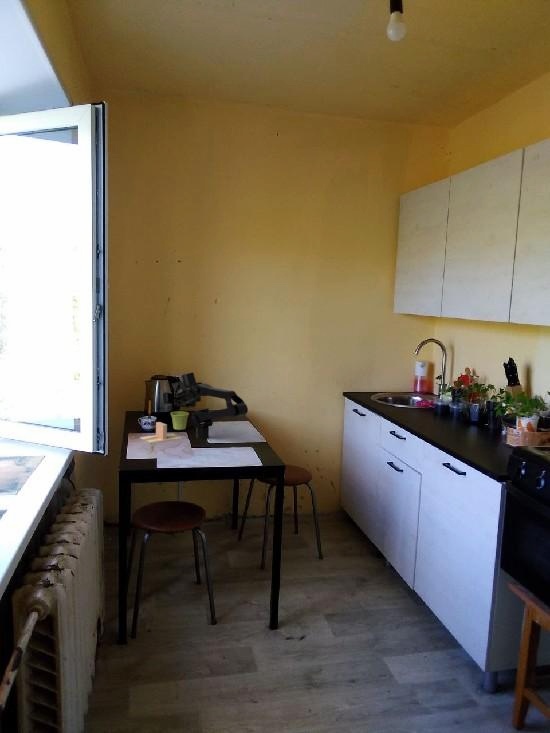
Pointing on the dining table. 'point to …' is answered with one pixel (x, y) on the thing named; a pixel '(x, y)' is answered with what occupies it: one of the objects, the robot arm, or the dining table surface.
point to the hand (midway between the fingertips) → (169, 404)
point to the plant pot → (179, 420)
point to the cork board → (155, 439)
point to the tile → (161, 430)
